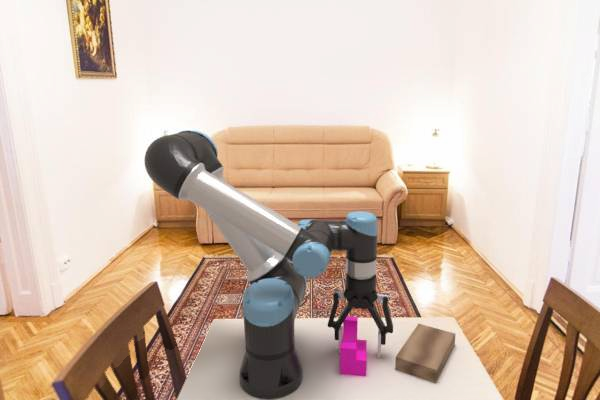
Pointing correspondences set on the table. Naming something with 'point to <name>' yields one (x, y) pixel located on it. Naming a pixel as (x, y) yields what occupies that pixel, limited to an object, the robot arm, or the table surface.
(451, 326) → the table surface
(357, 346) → the toy block
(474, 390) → the table surface
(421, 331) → the walnut base block
